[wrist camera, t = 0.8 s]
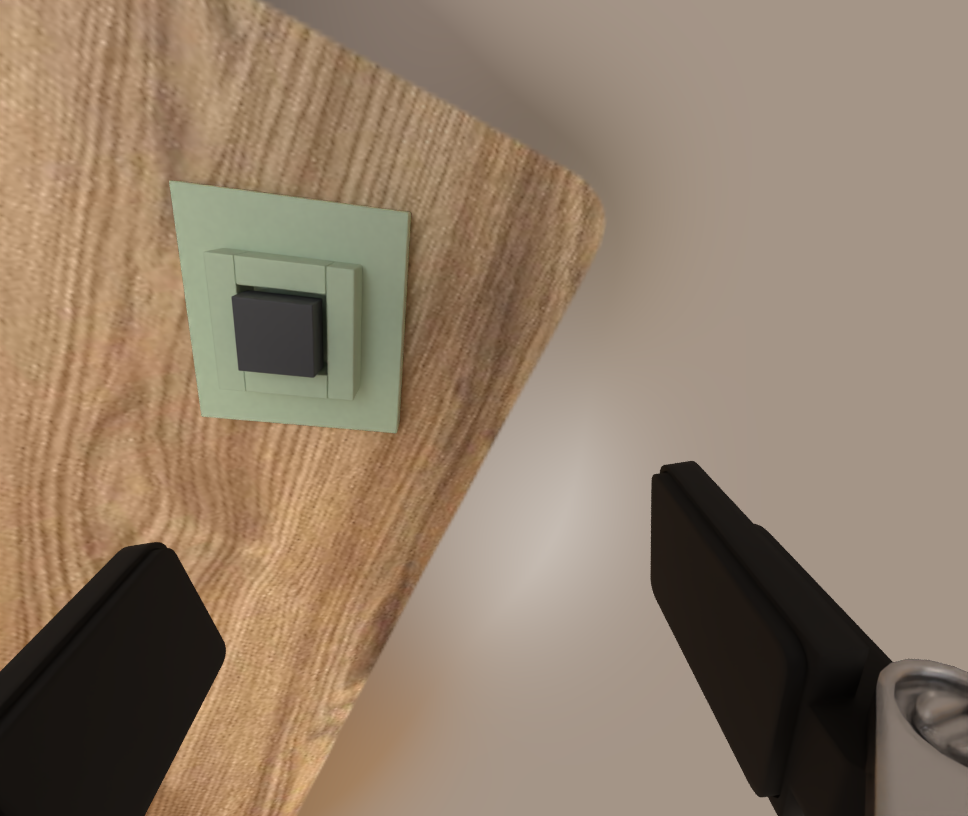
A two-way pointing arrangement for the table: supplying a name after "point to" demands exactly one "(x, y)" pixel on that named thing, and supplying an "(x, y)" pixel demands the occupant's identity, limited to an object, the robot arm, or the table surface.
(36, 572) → the table surface
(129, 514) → the table surface
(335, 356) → the square socket base
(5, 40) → the table surface
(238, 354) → the key
